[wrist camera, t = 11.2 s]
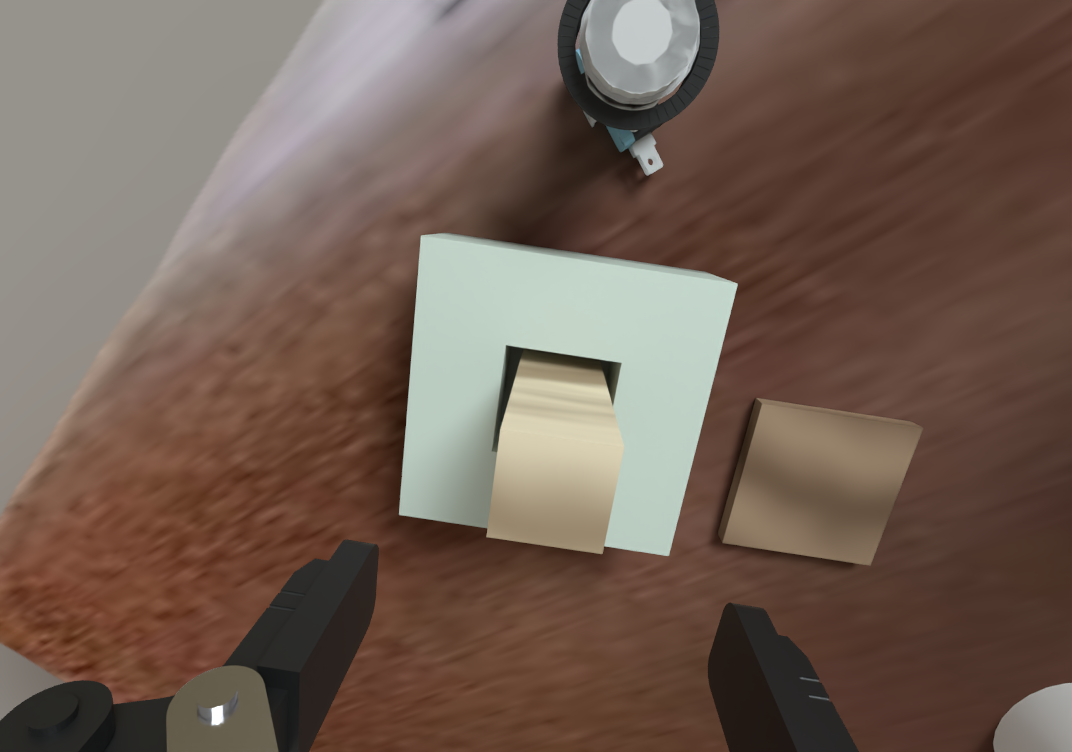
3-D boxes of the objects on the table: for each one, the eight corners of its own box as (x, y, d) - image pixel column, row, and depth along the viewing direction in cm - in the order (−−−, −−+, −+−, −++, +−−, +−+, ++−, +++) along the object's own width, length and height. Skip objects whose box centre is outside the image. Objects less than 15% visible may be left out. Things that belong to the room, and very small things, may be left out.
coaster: (755, 397, 30) (762, 403, 29) (911, 421, 30) (923, 428, 29) (717, 533, 33) (722, 542, 32) (861, 555, 33) (870, 565, 32)
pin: (524, 344, 28) (500, 429, 17) (598, 355, 28) (624, 447, 17) (515, 413, 29) (486, 537, 18) (586, 423, 29) (602, 554, 18)
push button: (697, 144, 27) (774, 101, 17) (604, 202, 28) (627, 192, 18) (634, 15, 25) (680, -112, 16) (538, 81, 26) (526, 0, 16)
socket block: (447, 232, 28) (421, 235, 23) (704, 271, 28) (737, 283, 23) (425, 466, 32) (398, 514, 27) (651, 501, 32) (668, 555, 27)
